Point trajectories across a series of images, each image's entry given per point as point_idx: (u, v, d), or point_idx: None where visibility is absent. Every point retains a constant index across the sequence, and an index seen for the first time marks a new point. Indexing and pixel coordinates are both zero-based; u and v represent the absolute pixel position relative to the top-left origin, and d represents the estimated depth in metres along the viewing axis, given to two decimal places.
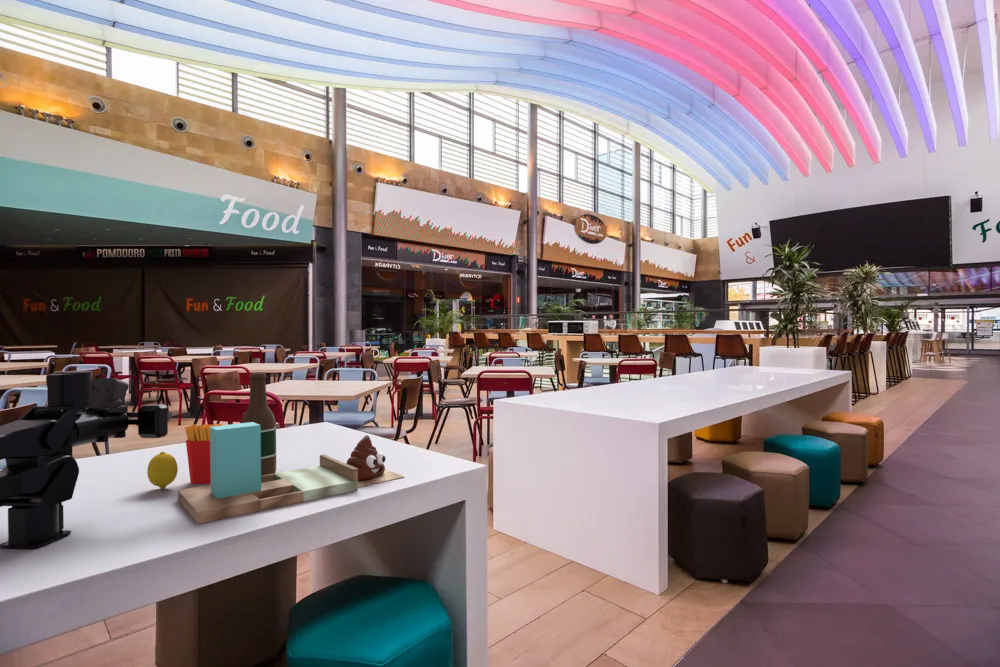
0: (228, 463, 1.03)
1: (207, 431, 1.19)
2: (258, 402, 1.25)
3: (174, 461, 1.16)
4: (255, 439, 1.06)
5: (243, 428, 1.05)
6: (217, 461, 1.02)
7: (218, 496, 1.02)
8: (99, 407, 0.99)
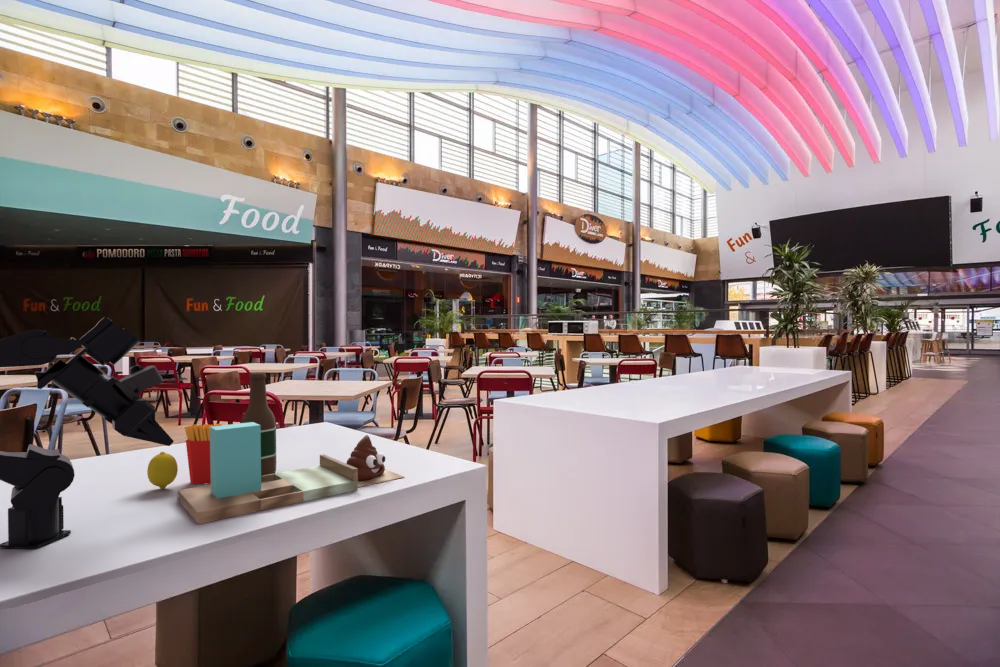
0: (228, 463, 1.03)
1: (207, 431, 1.19)
2: (258, 402, 1.25)
3: (174, 461, 1.16)
4: (255, 439, 1.06)
5: (243, 428, 1.05)
6: (217, 461, 1.02)
7: (218, 496, 1.02)
8: (119, 380, 0.94)
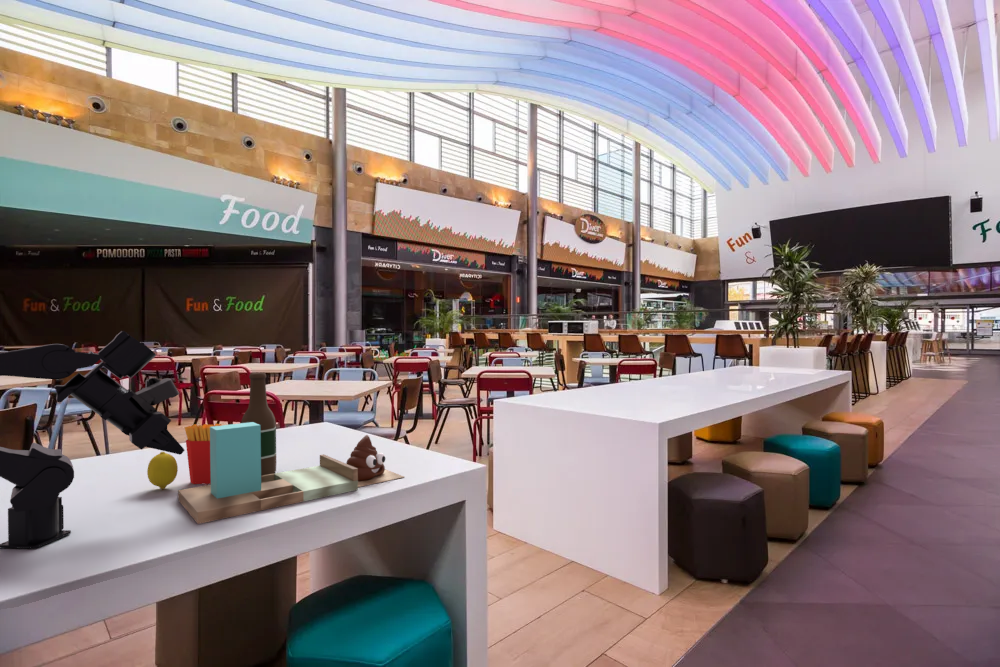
0: (228, 463, 1.03)
1: (207, 431, 1.19)
2: (258, 402, 1.25)
3: (174, 461, 1.16)
4: (255, 439, 1.06)
5: (243, 428, 1.05)
6: (217, 461, 1.02)
7: (218, 496, 1.02)
8: (136, 393, 0.95)
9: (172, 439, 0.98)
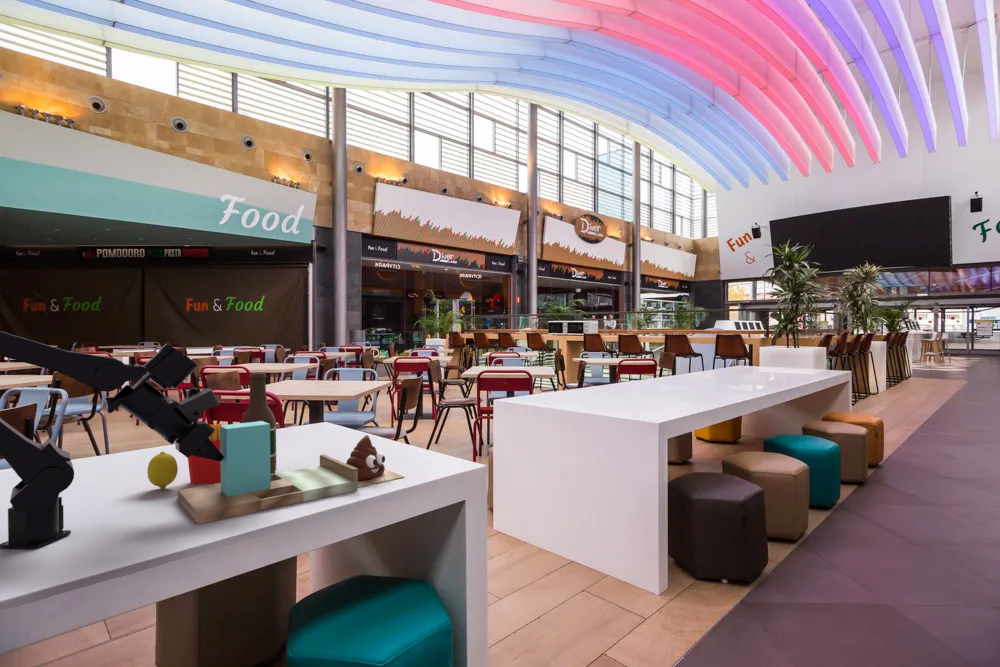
0: (238, 462, 1.04)
1: None
2: (258, 402, 1.25)
3: (174, 461, 1.16)
4: (265, 438, 1.07)
5: (253, 427, 1.06)
6: (227, 459, 1.03)
7: (228, 494, 1.03)
8: (180, 403, 1.00)
9: (213, 447, 1.02)
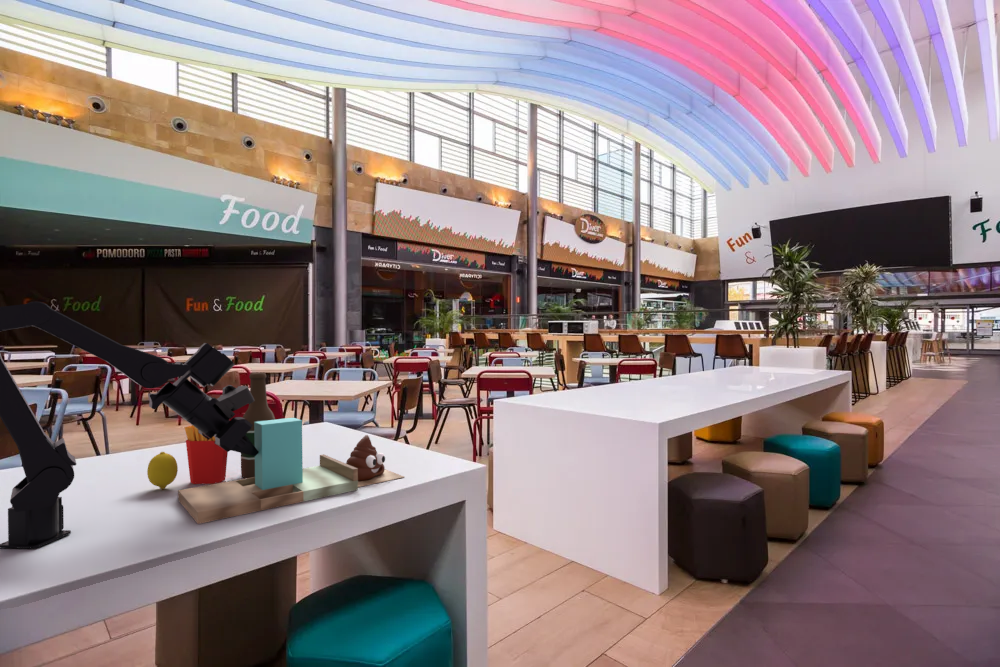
0: (273, 456, 1.08)
1: None
2: (258, 402, 1.25)
3: (174, 461, 1.16)
4: (297, 433, 1.12)
5: (286, 423, 1.10)
6: (263, 454, 1.07)
7: (263, 487, 1.07)
8: (217, 400, 1.04)
9: (248, 442, 1.06)
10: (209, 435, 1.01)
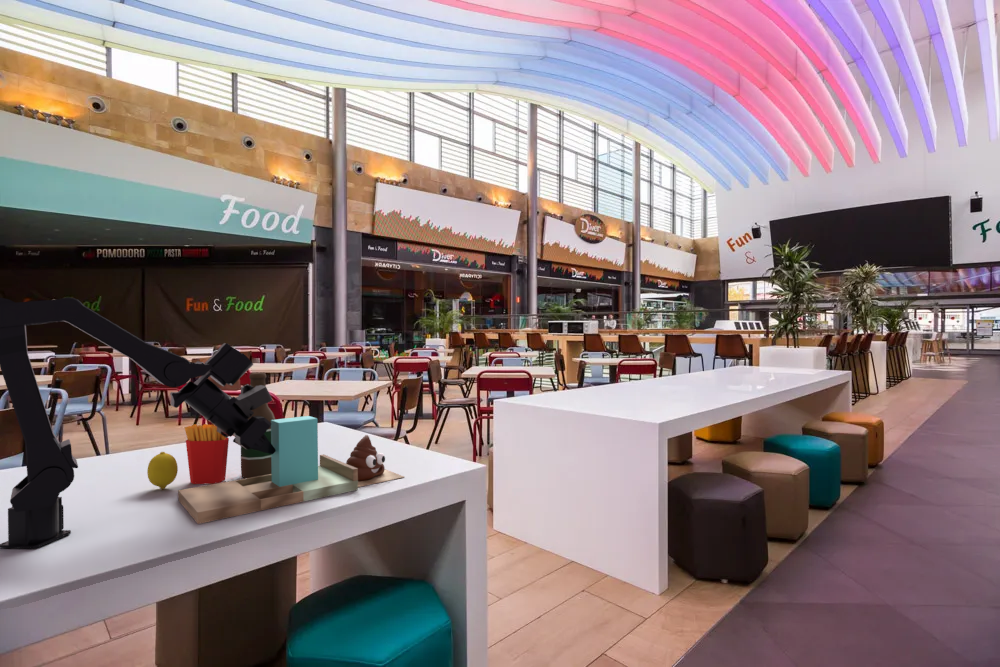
0: (289, 454, 1.11)
1: (207, 431, 1.19)
2: None
3: (174, 461, 1.16)
4: (313, 431, 1.14)
5: (302, 421, 1.12)
6: (280, 452, 1.09)
7: (280, 484, 1.09)
8: (236, 399, 1.06)
9: (266, 440, 1.09)
10: (229, 433, 1.03)
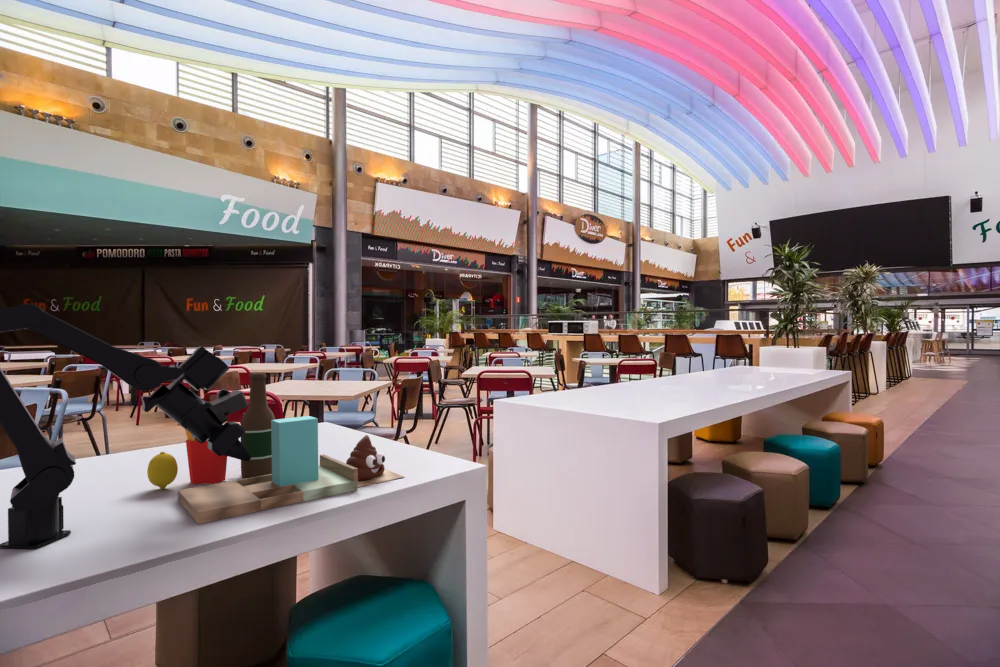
0: (290, 454, 1.11)
1: None
2: (258, 402, 1.25)
3: (174, 461, 1.16)
4: (313, 431, 1.14)
5: (302, 421, 1.12)
6: (280, 452, 1.09)
7: (281, 484, 1.09)
8: (211, 404, 1.03)
9: (241, 447, 1.06)
10: (202, 439, 1.00)
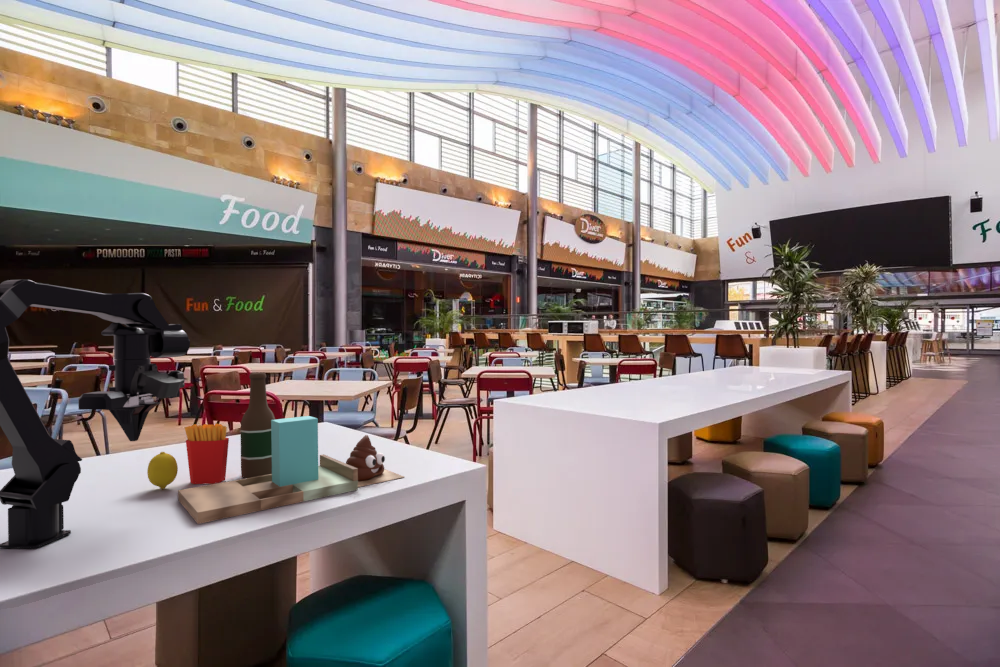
0: (290, 454, 1.11)
1: (207, 431, 1.19)
2: (258, 402, 1.25)
3: (174, 461, 1.16)
4: (313, 431, 1.14)
5: (302, 421, 1.12)
6: (280, 452, 1.09)
7: (281, 484, 1.09)
8: (147, 372, 1.02)
9: (131, 425, 1.01)
10: (110, 389, 1.00)
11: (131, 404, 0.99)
